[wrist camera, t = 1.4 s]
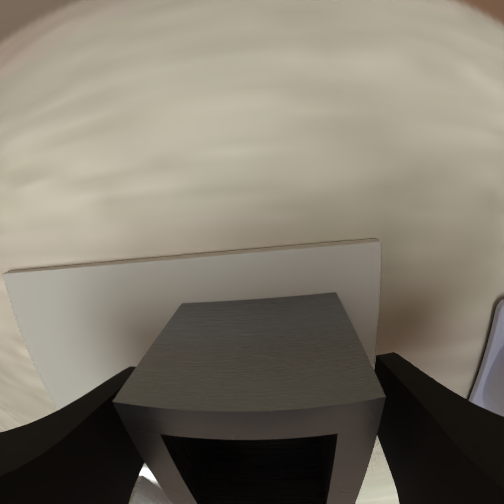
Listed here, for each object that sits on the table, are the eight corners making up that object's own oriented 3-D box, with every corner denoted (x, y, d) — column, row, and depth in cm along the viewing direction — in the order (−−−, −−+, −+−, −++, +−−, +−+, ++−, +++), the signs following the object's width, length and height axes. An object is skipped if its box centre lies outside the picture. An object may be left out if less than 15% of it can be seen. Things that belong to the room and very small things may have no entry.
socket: (335, 292, 9) (386, 396, 4) (332, 406, 10) (351, 511, 5) (181, 303, 10) (112, 401, 5) (208, 412, 11) (179, 512, 6)
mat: (375, 238, 9) (380, 241, 9) (329, 540, 15) (329, 544, 15) (8, 271, 11) (2, 274, 10) (158, 532, 17) (157, 535, 16)
